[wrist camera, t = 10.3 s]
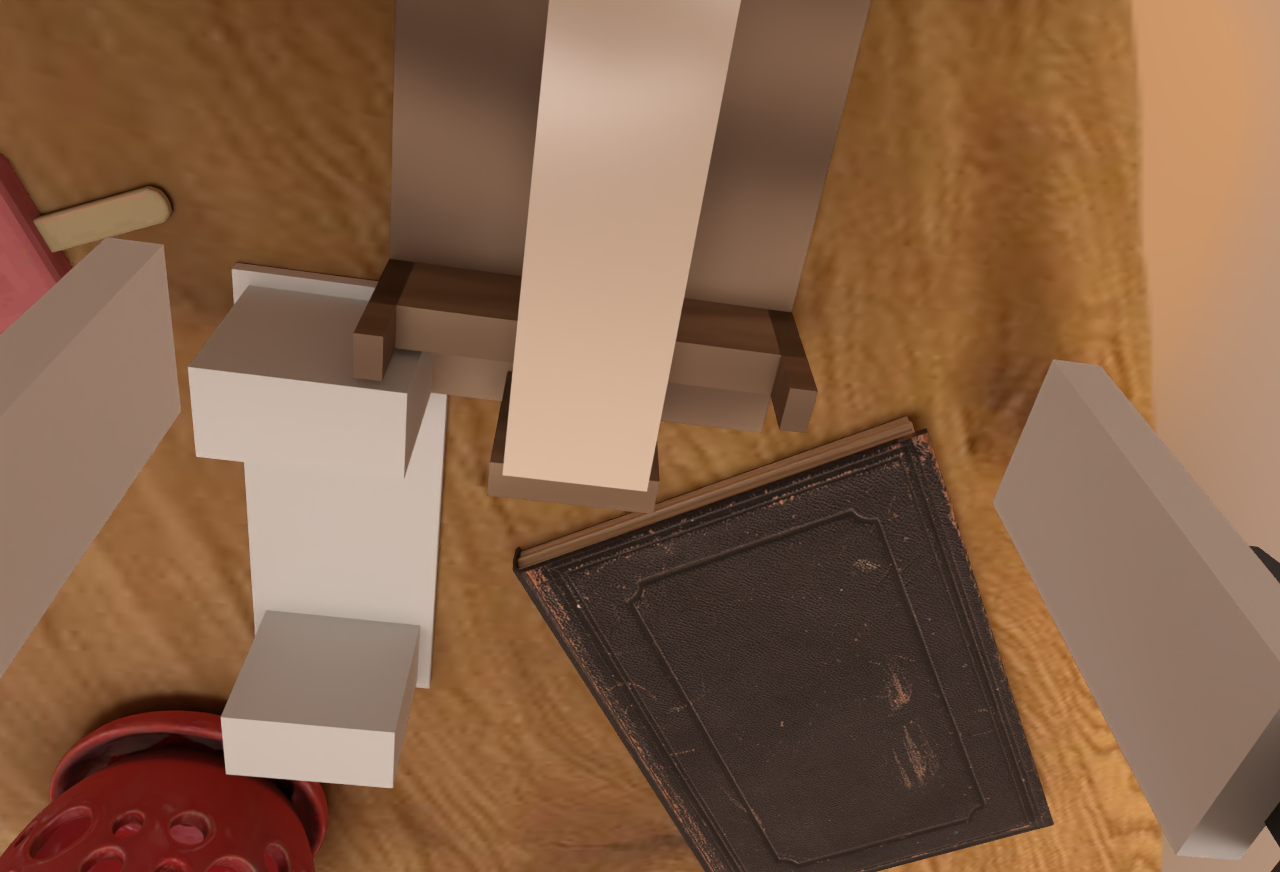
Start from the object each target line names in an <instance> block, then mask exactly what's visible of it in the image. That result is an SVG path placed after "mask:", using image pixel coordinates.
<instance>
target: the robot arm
mask: <svg viewBox="0 0 1280 872" xmlns="http://www.w3.org/2000/svg"><path fill="white" fill-rule="evenodd" d="M180 412H181V406H180V397H179V387H178V378H177V368H176V359H175V349H174V340H173V330H172V321H171V311H170V302H169V292H168V282H167V273H166V263H165V254H164V245H163V244H155V243H148V242H140V241H132V240H124V239H117V238H109V237H106V238H105V239H104V240H103V241H102V242H101V243H100V244H99V245H97V246H96V247H95V248H94V249H93V250H92V251H91V252H90V253H89V254H88V255H87V256H85V257H84V258H83V259H82V260H81V261H80V262H79V263H78V264H77V265H76V266H75V267H74V268H72V269H71V270H70V271H69V272H68V273H67V274H66V275H65V276H64V277H63V278H62V279H60V280H59V281H58V282H57V283H56V284H55V285H54V286H53V287H52V288H51V289H50V290H48V291H47V292H46V293H45V294H44V295H43V296H42V297H41V298H40V299H39V300H38V301H36V302H35V303H34V304H33V305H32V306H31V307H30V308H29V309H28V310H27V311H26V312H25V313H23V314H22V315H21V316H20V317H19V318H18V319H17V320H16V321H15V322H14V323H13V324H11V325H10V326H9V327H8V328H7V329H6V330H5V331H4V332H3V333H2V334H1V335H0V678H1V677H2V675H3V674H4V672H5V671H6V669H7V668H8V667H9V665H10V664H11V662H12V661H13V659H14V658H15V656H16V655H17V653H18V652H19V650H20V649H21V647H22V646H23V644H24V643H25V641H26V640H27V638H28V637H29V635H30V634H31V632H32V631H33V629H34V628H35V627H36V625H37V624H38V622H39V621H40V619H41V618H42V616H43V615H44V613H45V612H46V610H47V609H48V607H49V606H50V604H51V603H52V601H53V600H54V598H55V597H56V595H57V594H58V592H59V591H60V590H61V588H62V587H63V585H64V584H65V582H66V581H67V579H68V578H69V576H70V575H71V573H72V572H73V570H74V569H75V567H76V566H77V564H78V563H79V561H80V560H81V558H82V557H83V555H84V554H85V552H86V551H87V550H88V548H89V547H90V545H91V544H92V542H93V541H94V539H95V538H96V536H97V535H98V533H99V532H100V530H101V529H102V527H103V526H104V524H105V523H106V521H107V520H108V518H109V517H110V515H111V514H112V512H113V511H114V510H115V508H116V507H117V505H118V504H119V502H120V501H121V499H122V498H123V496H124V495H125V493H126V492H127V490H128V489H129V487H130V486H131V484H132V483H133V481H134V480H135V478H136V477H137V475H138V474H139V473H140V471H141V470H142V468H143V467H144V465H145V464H146V462H147V461H148V459H149V458H150V456H151V455H152V453H153V452H154V450H155V449H156V447H157V446H158V444H159V443H160V441H161V440H162V438H163V437H164V435H165V434H166V433H167V431H168V430H169V428H170V427H171V425H172V424H173V422H174V421H175V419H176V418H177V416H178V415H179V413H180ZM993 505H994V507H995V509H996V511H997V513H998V515H999V517H1000V519H1001V521H1002V522H1003V524H1004V526H1005V528H1006V530H1007V532H1008V534H1009V536H1010V538H1011V540H1012V542H1013V544H1014V546H1015V547H1016V549H1017V551H1018V553H1019V555H1020V557H1021V559H1022V561H1023V563H1024V565H1025V567H1026V569H1027V570H1028V572H1029V574H1030V576H1031V578H1032V580H1033V582H1034V584H1035V586H1036V588H1037V590H1038V592H1039V594H1040V595H1041V597H1042V599H1043V601H1044V603H1045V605H1046V607H1047V609H1048V611H1049V613H1050V615H1051V617H1052V618H1053V620H1054V622H1055V624H1056V626H1057V628H1058V630H1059V632H1060V634H1061V636H1062V638H1063V640H1064V642H1065V643H1066V645H1067V647H1068V649H1069V651H1070V653H1071V655H1072V657H1073V659H1074V661H1075V663H1076V665H1077V666H1078V668H1079V670H1080V672H1081V674H1082V676H1083V678H1084V680H1085V682H1086V684H1087V686H1088V688H1089V690H1090V691H1091V693H1092V695H1093V697H1094V699H1095V701H1096V703H1097V705H1098V707H1099V709H1100V711H1101V713H1102V715H1103V716H1104V718H1105V720H1106V722H1107V724H1108V726H1109V728H1110V730H1111V732H1112V734H1113V736H1114V738H1115V739H1116V741H1117V743H1118V745H1119V747H1120V749H1121V751H1122V753H1123V755H1124V757H1125V759H1126V761H1127V763H1128V764H1129V766H1130V768H1131V770H1132V772H1133V774H1134V776H1135V778H1136V780H1137V782H1138V784H1139V786H1140V787H1141V789H1142V791H1143V793H1144V795H1145V797H1146V799H1147V801H1148V803H1149V805H1150V807H1151V809H1152V811H1153V812H1154V814H1155V816H1156V818H1157V820H1158V822H1159V824H1160V826H1161V828H1162V830H1163V832H1164V834H1165V835H1166V837H1167V839H1168V841H1169V843H1170V845H1171V847H1172V849H1173V851H1174V853H1175V854H1176V855H1177V856H1189V857H1204V858H1215V859H1228V860H1240V858H1241V857H1242V856H1243V854H1244V853H1245V852H1246V850H1247V849H1248V848H1249V847H1250V845H1251V844H1252V843H1253V841H1254V840H1255V839H1256V837H1257V836H1258V835H1259V833H1260V832H1261V831H1262V830H1263V828H1264V827H1265V826H1267V828H1268V829H1269V831H1270V832H1271V834H1272V836H1273V837H1274V839H1275V840H1276V842H1277V844H1278V845H1279V847H1280V563H1279V562H1277V561H1276V560H1275V559H1274V558H1272V557H1271V556H1270V555H1268V554H1267V553H1265V552H1264V551H1263V550H1262V549H1260V548H1259V547H1254V546H1248V544H1247V543H1246V542H1245V541H1244V540H1243V538H1242V537H1241V536H1240V535H1239V534H1238V532H1237V531H1236V530H1235V529H1234V527H1233V526H1232V525H1231V524H1230V523H1229V521H1228V520H1227V519H1226V518H1225V516H1224V515H1223V514H1222V513H1221V512H1220V510H1219V509H1218V508H1217V507H1216V506H1215V504H1214V503H1213V502H1212V501H1211V500H1210V498H1209V497H1208V496H1207V495H1206V494H1205V492H1204V491H1203V490H1202V489H1201V487H1200V486H1199V485H1198V484H1197V483H1196V481H1195V480H1194V479H1193V478H1192V477H1191V475H1190V474H1189V473H1188V472H1187V471H1186V469H1185V468H1184V467H1183V465H1182V464H1181V463H1180V462H1179V461H1178V459H1177V458H1176V457H1175V456H1174V455H1173V453H1172V452H1171V451H1170V450H1169V448H1168V447H1167V446H1166V445H1165V444H1164V443H1163V441H1162V440H1161V439H1160V438H1159V436H1158V435H1157V434H1156V433H1155V431H1154V430H1153V429H1152V428H1151V427H1150V425H1149V424H1148V423H1147V422H1146V421H1145V419H1144V418H1143V417H1142V416H1141V414H1140V413H1139V412H1138V411H1137V410H1136V408H1135V407H1134V406H1133V405H1132V404H1131V402H1130V401H1129V400H1128V399H1127V397H1126V396H1125V395H1124V394H1123V393H1122V391H1121V390H1120V389H1119V388H1118V387H1117V385H1116V384H1115V383H1114V382H1113V380H1112V379H1111V378H1110V377H1109V376H1108V374H1107V373H1106V372H1105V371H1104V370H1103V368H1102V367H1101V366H1100V365H1092V364H1085V363H1077V362H1069V361H1061V360H1054V359H1053V360H1052V363H1051V365H1050V368H1049V370H1048V372H1047V375H1046V377H1045V379H1044V382H1043V384H1042V387H1041V389H1040V391H1039V394H1038V396H1037V398H1036V401H1035V403H1034V406H1033V408H1032V410H1031V413H1030V415H1029V417H1028V420H1027V422H1026V425H1025V427H1024V429H1023V432H1022V434H1021V436H1020V439H1019V441H1018V444H1017V446H1016V448H1015V451H1014V453H1013V455H1012V458H1011V460H1010V463H1009V465H1008V467H1007V470H1006V472H1005V474H1004V477H1003V479H1002V481H1001V484H1000V486H999V489H998V491H997V493H996V496H995V498H994V500H993ZM1271 872H1280V861H1279V862H1278V863H1277V865H1276V866H1275V867H1274V869H1273V870H1272V871H1271Z"/></svg>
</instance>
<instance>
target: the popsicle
mask: <svg viewBox="0 0 1280 872" xmlns="http://www.w3.org/2000/svg"><path fill="white" fill-rule="evenodd" d="M171 213H172V209H171V204H170V202H169V200H168V198H167V196H166V195H165V194H164V193H163V192H162V191H161V190H160V189H157V188H154V187H151V186H147V187H144V188H140V189H136V190H133V191H129V192H126V193H122V194H118V195H115V196H111V197H108V198H104V199H100V200H97V201H93V202H90V203H86V204H82V205H79V206H75V207H72V208H68V209H64V210H61V211H57V212H54V213H50V214H46V215H43V216H41V215H40V213H39V212H38V210H37V208H36V207H35V205H34V203H33V202H32V200H31V198H30V197H29V195H28V193H27V192H26V190H25V188H24V187H23V185H22V183H21V182H20V180H19V178H18V177H17V175H16V173H15V172H14V170H13V168H12V167H11V165H10V163H9V162H8V160H7V159H6V158H5V157H4V156H3V155H1V154H0V335H1V334H2V333H3V332H4V331H5V330H6V329H7V328H8V327H9V326H10V325H11V324H13V323H14V322H15V321H16V320H17V319H18V318H19V317H20V316H21V315H22V314H23V313H25V312H26V311H27V310H28V309H29V308H30V307H31V306H32V305H33V304H34V303H35V302H36V301H38V300H39V299H40V298H41V297H42V296H43V295H44V294H45V293H46V292H47V291H48V290H50V289H51V288H52V287H53V286H54V285H55V284H56V283H57V282H58V281H59V280H60V279H62V278H63V277H64V276H65V275H66V274H67V273H68V272H69V271H70V270H71V269H72V266H71V265H70V263H69V261H68V260H67V258H66V256H65V255H64V253H63V251H62V250H65V249H68V248H72V247H76V246H79V245H83V244H87V243H90V242H94V241H98V240H101V239H105V238H106V237H112V236H116V235H120V234H123V233H127V232H131V231H134V230H138V229H142V228H145V227H149V226H153V225H156V224H160V223H164V222H165V221H166V220H167V219H168V217H169V216H170V214H171Z"/></svg>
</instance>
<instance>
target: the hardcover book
mask: <svg viewBox="0 0 1280 872" xmlns="http://www.w3.org/2000/svg"><path fill="white" fill-rule="evenodd" d="M513 571H514V573H515V574H516V576H517V578H518V579H519V581H520V582H521V584H522V585H523V587H524V588H525V590H526V592H527V593H528V595H529V596H530V598H531V599H532V601H533V603H534V604H535V606H536V607H537V609H538V610H539V612H540V614H541V615H542V617H543V618H544V620H545V621H546V623H547V624H548V626H549V628H550V629H551V631H552V632H553V634H554V635H555V637H556V639H557V640H558V642H559V643H560V645H561V646H562V648H563V650H564V651H565V653H566V654H567V656H568V657H569V659H570V660H571V662H572V664H573V665H574V667H575V668H576V670H577V671H578V673H579V675H580V676H581V678H582V679H583V681H584V682H585V684H586V686H587V687H588V689H589V690H590V692H591V693H592V695H593V696H594V698H595V700H596V701H597V703H598V704H599V706H600V707H601V709H602V711H603V712H604V714H605V715H606V717H607V718H608V720H609V722H610V723H611V725H612V726H613V728H614V729H615V731H616V732H617V734H618V736H619V737H620V739H621V740H622V742H623V743H624V745H625V747H626V748H627V750H628V751H629V753H630V754H631V756H632V758H633V759H634V761H635V762H636V764H637V765H638V767H639V768H640V770H641V772H642V773H643V775H644V776H645V778H646V779H647V781H648V783H649V784H650V786H651V787H652V789H653V790H654V792H655V794H656V795H657V797H658V798H659V800H660V801H661V803H662V804H663V806H664V808H665V809H666V811H667V812H668V814H669V815H670V817H671V819H672V820H673V822H674V823H675V825H676V826H677V828H678V830H679V831H680V833H681V834H682V836H683V837H684V839H685V840H686V842H687V844H688V845H689V847H690V848H691V850H692V851H693V853H694V855H695V856H696V858H697V859H698V861H699V862H700V864H701V866H702V867H703V869H704V870H705V872H876V871H880V870H884V869H888V868H892V867H896V866H899V865H903V864H907V863H911V862H915V861H918V860H922V859H926V858H930V857H934V856H937V855H941V854H945V853H949V852H953V851H956V850H960V849H964V848H968V847H972V846H975V845H979V844H983V843H987V842H991V841H994V840H998V839H1002V838H1006V837H1010V836H1013V835H1017V834H1021V833H1025V832H1029V831H1032V830H1036V829H1040V828H1044V827H1048V826H1051V825H1054V823H1053V820H1052V817H1051V814H1050V811H1049V807H1048V804H1047V801H1046V798H1045V795H1044V792H1043V789H1042V786H1041V783H1040V779H1039V776H1038V773H1037V770H1036V767H1035V764H1034V761H1033V758H1032V755H1031V751H1030V748H1029V745H1028V742H1027V739H1026V736H1025V733H1024V730H1023V727H1022V723H1021V720H1020V717H1019V714H1018V711H1017V708H1016V705H1015V702H1014V699H1013V695H1012V692H1011V689H1010V686H1009V683H1008V680H1007V677H1006V674H1005V671H1004V667H1003V664H1002V661H1001V658H1000V655H999V652H998V649H997V646H996V643H995V639H994V636H993V633H992V630H991V627H990V624H989V621H988V618H987V615H986V611H985V608H984V605H983V602H982V599H981V596H980V593H979V590H978V587H977V583H976V580H975V577H974V574H973V571H972V568H971V565H970V562H969V559H968V555H967V552H966V549H965V546H964V543H963V540H962V537H961V534H960V531H959V527H958V524H957V521H956V518H955V515H954V512H953V509H952V506H951V503H950V499H949V496H948V493H947V490H946V487H945V484H944V481H943V478H942V474H941V471H940V468H939V465H938V462H937V459H936V456H935V453H934V450H933V446H932V443H931V440H930V437H929V434H928V431H927V429H923V430H920V431H917V432H915V430H914V427H913V424H912V422H911V421H909V420H908V417H907V416H905V417H902V418H900V419H897V420H894V421H891V422H888V423H885V424H882V425H880V426H877V427H874V428H871V429H868V430H865V431H863V432H860V433H857V434H854V435H851V436H848V437H846V438H843V439H840V440H837V441H834V442H831V443H829V444H826V445H823V446H820V447H817V448H814V449H811V450H809V451H806V452H803V453H800V454H797V455H794V456H792V457H789V458H786V459H783V460H780V461H777V462H775V463H772V464H769V465H766V466H763V467H760V468H758V469H755V470H752V471H749V472H746V473H743V474H740V475H738V476H735V477H732V478H729V479H726V480H723V481H721V482H718V483H715V484H712V485H709V486H706V487H704V488H701V489H698V490H695V491H692V492H689V493H687V494H684V495H681V496H678V497H675V498H672V499H669V500H667V501H664V502H661V503H658V504H655V507H654V512H653V514H648V513H639V512H633V513H630V514H627V515H624V516H621V517H618V518H616V519H613V520H610V521H607V522H604V523H601V524H599V525H596V526H593V527H590V528H587V529H584V530H581V531H579V532H576V533H573V534H570V535H567V536H564V537H562V538H559V539H556V540H553V541H550V542H547V543H545V544H542V545H539V546H536V547H533V548H530V549H528V550H525V551H522V550H521V548H520V547H518V548H517V549H516V551H515V555H514V559H513Z"/></svg>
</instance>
